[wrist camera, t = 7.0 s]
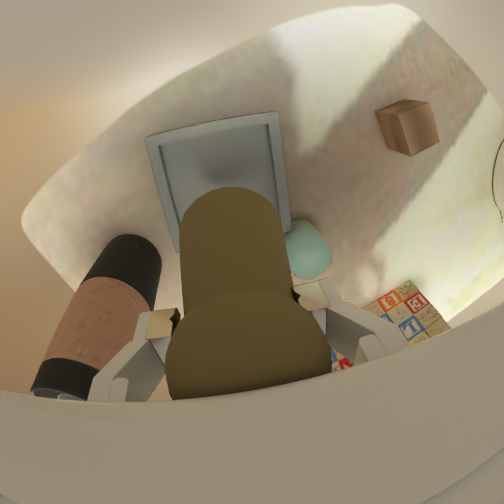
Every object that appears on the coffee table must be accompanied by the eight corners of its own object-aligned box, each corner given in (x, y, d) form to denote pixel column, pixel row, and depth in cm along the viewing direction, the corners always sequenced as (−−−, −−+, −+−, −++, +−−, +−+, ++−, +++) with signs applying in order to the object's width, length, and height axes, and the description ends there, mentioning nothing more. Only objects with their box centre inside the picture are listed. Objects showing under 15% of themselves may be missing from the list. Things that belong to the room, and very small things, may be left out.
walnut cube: (403, 99, 24) (428, 102, 20) (415, 134, 27) (439, 141, 23) (374, 111, 25) (398, 115, 21) (387, 148, 27) (411, 156, 23)
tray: (273, 111, 24) (278, 111, 23) (287, 223, 30) (291, 230, 29) (149, 135, 24) (144, 138, 22) (178, 244, 30) (176, 253, 28)
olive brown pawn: (212, 165, 14) (208, 307, 5) (302, 220, 16) (398, 373, 7) (161, 253, 16) (121, 427, 7) (246, 293, 18) (275, 455, 9)
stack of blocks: (304, 366, 44) (323, 428, 33) (288, 348, 41) (307, 417, 30) (414, 302, 40) (453, 354, 30) (409, 277, 37) (455, 332, 27)
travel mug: (176, 275, 32) (155, 440, 15) (125, 296, 33) (84, 443, 15) (142, 220, 28) (70, 380, 11) (90, 248, 29) (11, 390, 11)
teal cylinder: (314, 215, 30) (330, 235, 26) (317, 249, 32) (332, 272, 28) (275, 224, 30) (286, 245, 26) (281, 258, 32) (292, 283, 28)
